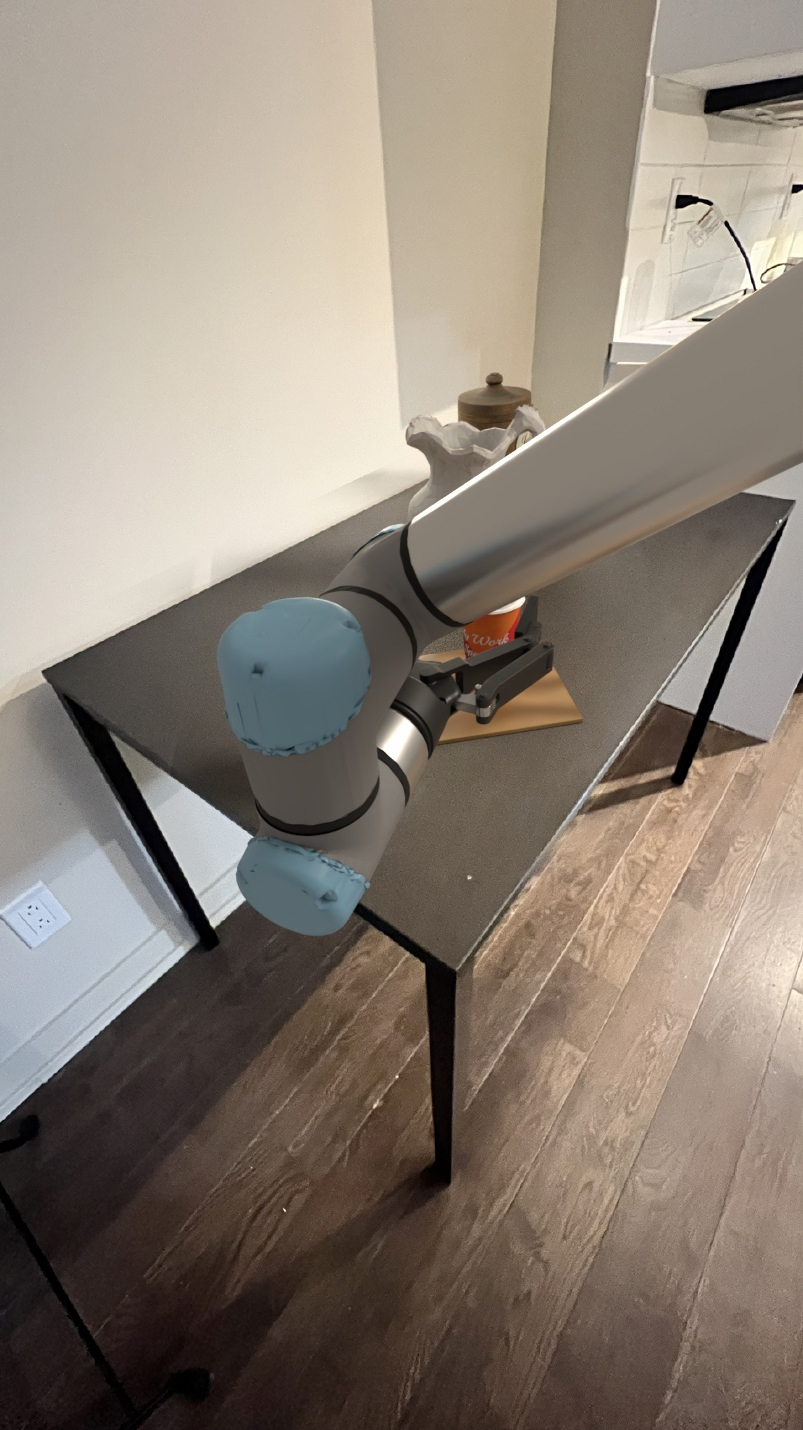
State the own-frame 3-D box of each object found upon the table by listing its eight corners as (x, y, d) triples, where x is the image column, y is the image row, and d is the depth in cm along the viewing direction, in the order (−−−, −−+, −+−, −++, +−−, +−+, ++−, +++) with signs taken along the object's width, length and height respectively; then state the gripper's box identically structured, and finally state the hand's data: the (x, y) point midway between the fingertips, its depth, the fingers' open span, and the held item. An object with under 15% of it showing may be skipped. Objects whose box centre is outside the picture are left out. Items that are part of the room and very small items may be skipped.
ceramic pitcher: (510, 537, 117) (509, 390, 103) (561, 574, 101) (567, 406, 87) (401, 562, 113) (383, 412, 99) (435, 603, 98) (420, 433, 83)
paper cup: (448, 692, 79) (444, 594, 71) (477, 661, 84) (476, 566, 75) (504, 710, 76) (507, 610, 67) (531, 677, 80) (537, 579, 72)
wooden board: (582, 722, 74) (583, 718, 73) (433, 745, 73) (433, 741, 73) (536, 641, 88) (537, 638, 87) (410, 660, 87) (410, 656, 86)
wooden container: (537, 492, 130) (543, 375, 116) (468, 503, 129) (466, 385, 115) (514, 470, 142) (517, 361, 128) (451, 479, 140) (447, 370, 126)
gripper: (256, 745, 54) (357, 619, 68) (547, 807, 45) (590, 648, 60) (233, 674, 49) (347, 556, 64) (553, 729, 41) (599, 578, 55)
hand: (465, 600), depth 62 cm, fingers open, 13 cm apart
